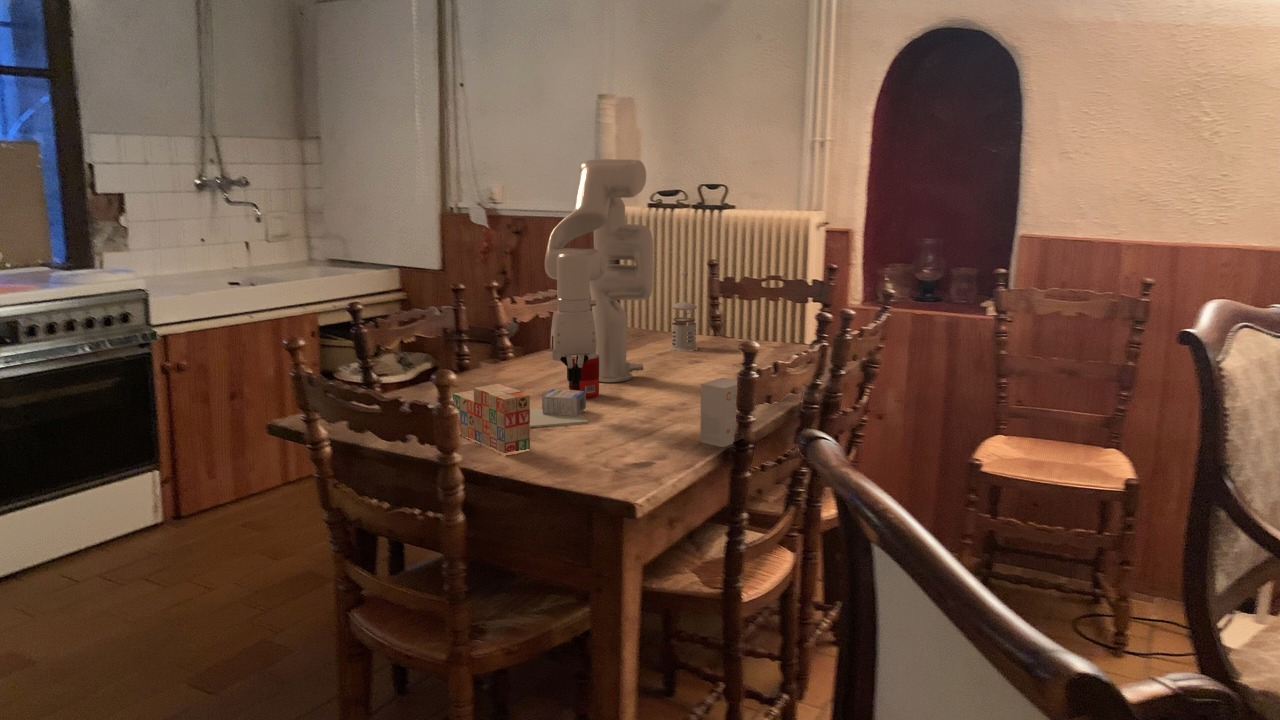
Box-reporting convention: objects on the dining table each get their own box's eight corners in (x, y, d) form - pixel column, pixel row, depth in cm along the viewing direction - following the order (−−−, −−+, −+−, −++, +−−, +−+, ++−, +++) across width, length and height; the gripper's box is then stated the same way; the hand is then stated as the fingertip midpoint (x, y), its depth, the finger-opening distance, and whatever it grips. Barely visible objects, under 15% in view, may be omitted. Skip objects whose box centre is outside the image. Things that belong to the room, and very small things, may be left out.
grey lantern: (665, 350, 304) (666, 272, 299) (674, 344, 314) (675, 269, 309) (694, 352, 301) (696, 273, 296) (703, 345, 312) (704, 270, 307)
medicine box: (577, 398, 220) (541, 395, 221) (577, 417, 220) (541, 414, 222) (586, 390, 227) (551, 388, 229) (586, 408, 228) (551, 406, 230)
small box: (720, 434, 209) (722, 377, 206) (744, 440, 205) (746, 381, 202) (699, 442, 202) (700, 383, 200) (723, 448, 198) (724, 387, 196)
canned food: (603, 393, 245) (603, 352, 243) (592, 400, 238) (592, 357, 236) (576, 391, 248) (576, 350, 245) (564, 398, 240) (563, 355, 238)
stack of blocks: (453, 434, 208) (451, 379, 205) (478, 429, 212) (477, 375, 209) (505, 457, 192) (503, 398, 189) (531, 451, 195) (530, 393, 193)
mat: (572, 408, 230) (572, 406, 230) (587, 423, 217) (587, 421, 217) (499, 414, 224) (499, 412, 224) (509, 429, 211) (509, 427, 211)
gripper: (600, 302, 223) (600, 378, 227) (538, 305, 219) (539, 382, 222) (609, 307, 216) (609, 385, 220) (545, 309, 212) (546, 389, 215)
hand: (574, 383), depth 221 cm, fingers closed
